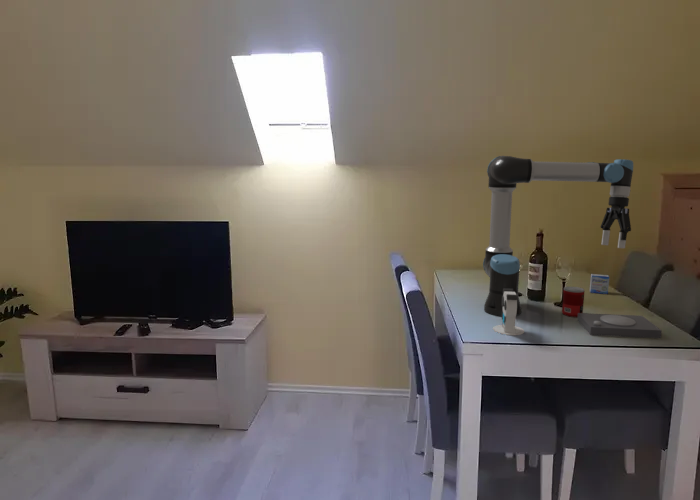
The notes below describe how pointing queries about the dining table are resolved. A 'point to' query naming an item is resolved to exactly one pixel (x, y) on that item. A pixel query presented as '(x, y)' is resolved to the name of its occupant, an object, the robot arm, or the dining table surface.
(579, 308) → the canned food
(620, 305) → the dining table surface
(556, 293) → the dining table surface
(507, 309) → the white upright stand
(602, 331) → the mount
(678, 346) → the dining table surface
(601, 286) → the medicine box
